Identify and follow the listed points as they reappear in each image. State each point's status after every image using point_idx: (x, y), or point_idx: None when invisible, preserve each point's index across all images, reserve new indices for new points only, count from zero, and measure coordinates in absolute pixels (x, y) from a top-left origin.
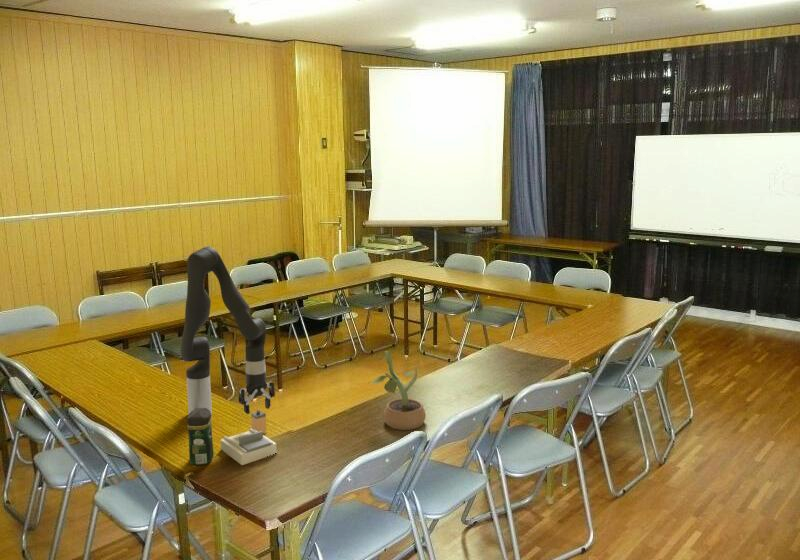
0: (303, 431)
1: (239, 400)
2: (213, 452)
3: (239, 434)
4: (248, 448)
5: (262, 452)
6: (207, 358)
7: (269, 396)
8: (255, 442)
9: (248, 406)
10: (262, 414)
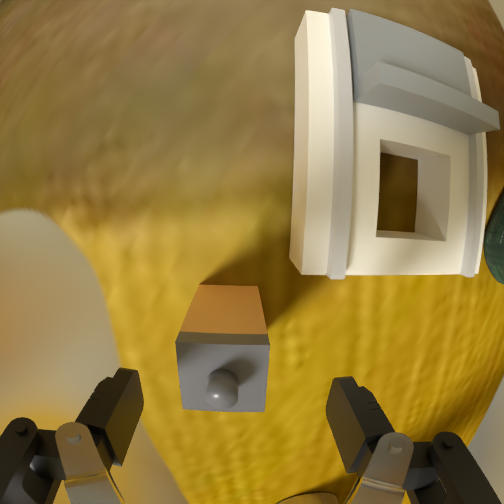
0: (51, 174)
1: (439, 484)
2: (495, 227)
3: (405, 268)
4: (458, 57)
5: None
6: None
7: (65, 448)
8: (416, 70)
9: (368, 425)
10: (203, 349)
